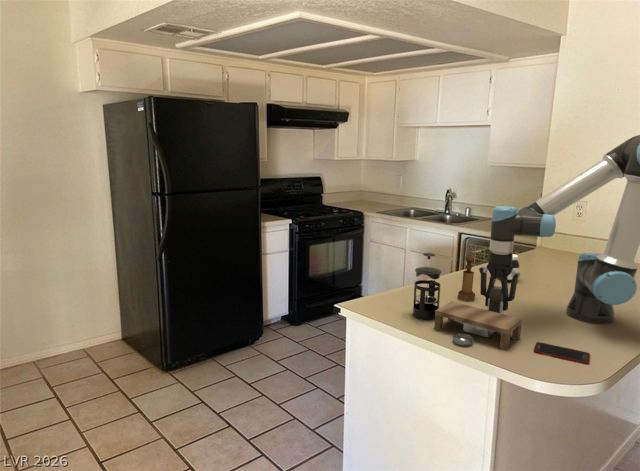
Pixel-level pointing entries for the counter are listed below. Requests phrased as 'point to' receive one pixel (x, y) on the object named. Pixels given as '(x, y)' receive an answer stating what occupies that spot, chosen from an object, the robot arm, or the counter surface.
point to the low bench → (480, 320)
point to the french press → (426, 302)
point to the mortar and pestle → (467, 282)
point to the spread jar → (515, 267)
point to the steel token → (462, 340)
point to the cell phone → (562, 353)
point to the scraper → (493, 306)
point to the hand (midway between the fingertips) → (495, 316)
